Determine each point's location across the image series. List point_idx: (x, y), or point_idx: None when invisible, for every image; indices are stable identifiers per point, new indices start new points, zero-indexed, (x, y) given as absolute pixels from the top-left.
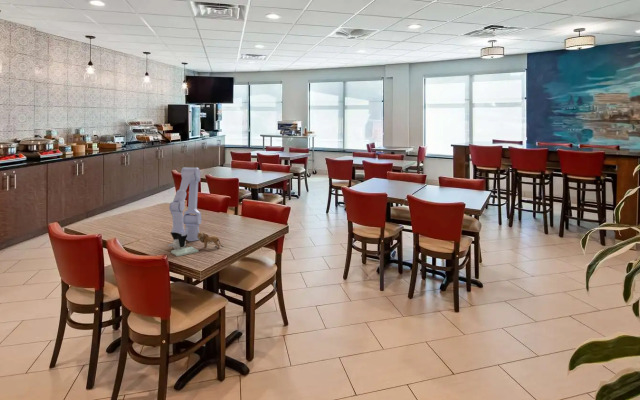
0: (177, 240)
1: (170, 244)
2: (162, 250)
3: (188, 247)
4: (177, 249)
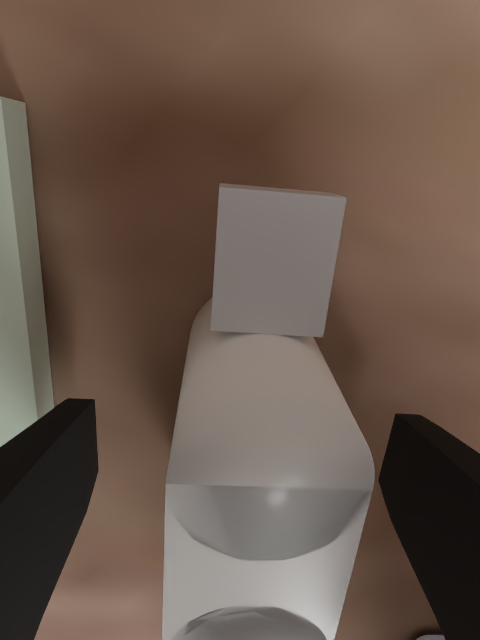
0: (170, 508)
1: (292, 249)
2: (363, 6)
3: None
4: (6, 289)
